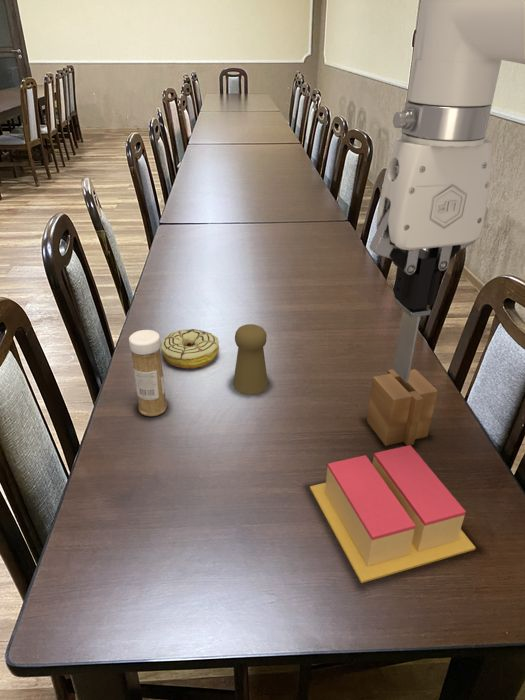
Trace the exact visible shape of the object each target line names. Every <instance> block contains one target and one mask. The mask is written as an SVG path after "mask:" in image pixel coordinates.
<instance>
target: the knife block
mask: <svg viewBox="0 0 525 700" xmlns="http://www.w3.org/2000/svg"><path fill="white" fill-rule="evenodd" d="M393 369H394V368H390V369H387V373H386V374H380V375H375V376H373V377H372V383H371V389H370V396H369V403H368V410H367V417H366V423H367V424H368V425H369V426H370V428H371V429H372V430H373V432H374V433H375V434H376V436H377V437H378V438H379V440H380V441H381V442H382V443H383V445H384V446H391V445H395V444H400V443H404V444H405V446H408V445H411V446H414V445H415V441H416V440H418V439H423V438H428V437H429V432H430V427H431V425H432V418H433V414H434V409H435V406H436V405H435V404H436V400H437V396H438V389H437V388H435V386H433V385H432V384H431V383H430V382H429V381H428V380H427V379H426V378H425V377H424V376H423V375H422V374H421V373H420V372H419V371H418V370H417V369H416V368H414V369H410V374H409V380H408V382H407V383H406V382H405V381H404V380H403V379H402V378H401V377H400V376H399V375H398V374H397V373H396V372H395V371H394V370H393Z"/></svg>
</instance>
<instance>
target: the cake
mask: <svg viewBox="0 0 525 700" xmlns="http://www.w3.org/2000/svg"><path fill="white" fill-rule="evenodd" d="M309 490H310V492H311V493H312V495H313V497H314V499H315V501H316V502H317V505H318V506H319V509H320V510H321V512H322V513H323V516H324V518H325V519H326V521H327V523H328V525H329V527H330V529H331V530H332V532H333V534H334V536H335V538H336V540H337V542H338V544H339V546H340V547H341V549H342V551H343V552H344V555H345V556H346V558H347V560H348V562H349V564H350V565H351V568H352V569H353V571H354V574H355V575H356V577H357V579H358V580H359V582H360V584H364V583H367V582H372V581H374V580H377V579H381V578H384V577H388V576H392V575H394V574H398V573H401V572H404V571H408V570H411V569H415V568H419V567H423V566H425V565H429V564H432V563H436V562H439V561H441V560H445V559H448V558H452V557H456V556H459V555H462V554H466V553H469V552H473V551H475V550H476V546H475V545H474V544H473V542H472V541H471V540H470V539H469V537H468V536H467V535H466V533H465V532H464V531H463V530H462V526H463V523H464V519H465V516H466V513H467V511H466V510H465V509H464V507H462V505H461V504H460V503H459V501H458V500H457V499H456V498H455V497H454V495H452V493H451V492H450V491H449V489H448V488H447V487H446V486H445V485H444V484H443V482H442V481H441V480H440V479H439V477H437V475H436V474H435V473H434V472H433V469H431V468H430V466H428V464H427V463H426V462H425V461H424V460H423V458H422V457H421V456H420V455H419V453H418V452H417V451H416V450H415V449H414V447H413V445H408V446H406V445H405V446H400V447H399V446H398V447H396V448H391V449H386V450H382V451H378V452H374V453H373V459H372V462H371V460H370V459H369V457H368V456H367V454H364V455H360V456H355V457H350V458H346V459H342V460H338V461H333V462H330V463H327V467H326V477H325V482H322V483H318V484H315V485H310V486H309Z"/></svg>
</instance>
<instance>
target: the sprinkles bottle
mask: <svg viewBox="0 0 525 700" xmlns="http://www.w3.org/2000/svg"><path fill="white" fill-rule="evenodd" d="M161 343H162V340H161V335H160V334H159V333H158V332H157V331H155V330H152V329H142V330H137V331H135V332H133V333H131V334H130V336H129V337H128V345H129V350H130V353H131V359H132V369H133V375H134V376H133V377H134V383H135V391H136V395H137V403H138V412H139V413H140V414H141V415H143V416H145V417H156V416H159V415H162V414H163V413H165V412H166V410H167V408H168V403H167V401H166V386H165V385H166V384H165V378H164V377H165V376H164V371H163V363H162V352H161Z"/></svg>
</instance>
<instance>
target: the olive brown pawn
mask: <svg viewBox="0 0 525 700" xmlns="http://www.w3.org/2000/svg"><path fill="white" fill-rule="evenodd" d="M267 339H268V337H267V332H266V330H265V329H264V327H262V326H260V325H258V324H254V323H248V324H243V325H241V326H239V327H238V328H237V330H236V331H235V334H234V342H235V345H236V347H237V353H236V361H235V366H234V367H235V369H234V375H233V383H232V386H233V389H234V390H236V392H238V393H240V394H243V395H249V396H250V395H251V396H253V395H258V394H261V393H264V392H265V391H267V389H268V387H269V381H268V379H269V378H268V374H267V366H266V359H265V358H266V357H265V351H264V347H265V346H266V343H267Z"/></svg>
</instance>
